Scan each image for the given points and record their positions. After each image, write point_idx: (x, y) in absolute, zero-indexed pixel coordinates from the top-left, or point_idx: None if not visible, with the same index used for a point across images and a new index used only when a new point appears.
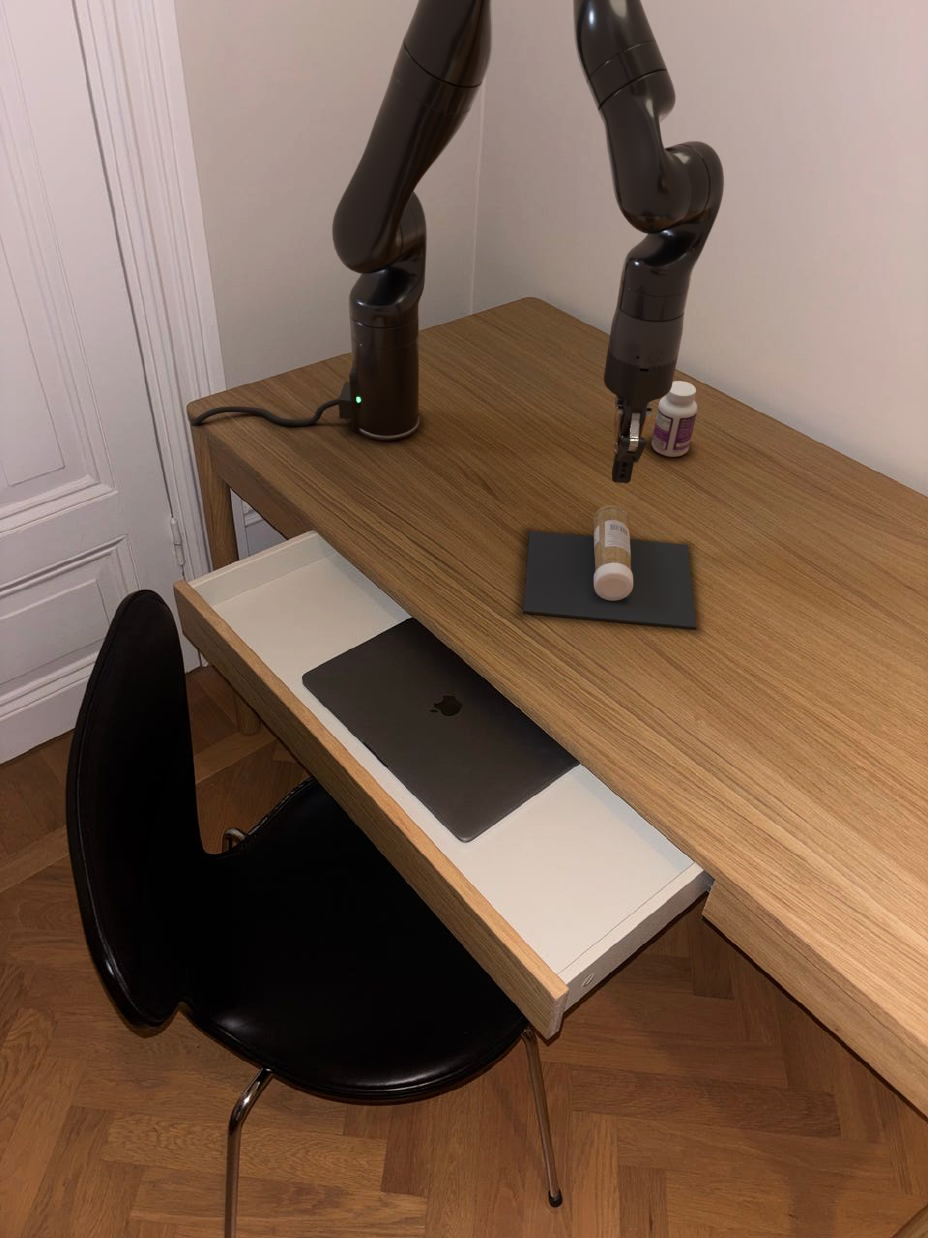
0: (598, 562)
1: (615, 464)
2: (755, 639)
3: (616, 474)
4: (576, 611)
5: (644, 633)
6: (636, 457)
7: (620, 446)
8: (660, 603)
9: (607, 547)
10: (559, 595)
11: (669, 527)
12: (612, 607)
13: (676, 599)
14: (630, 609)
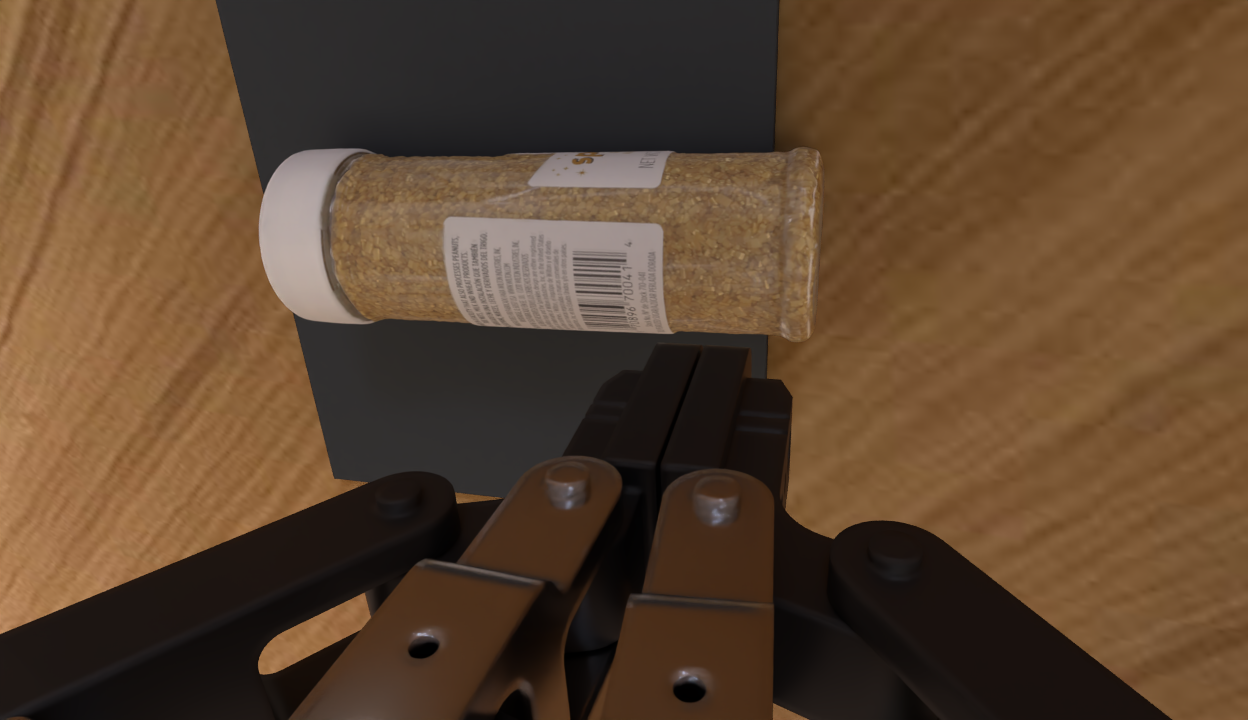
0: (382, 178)
1: (625, 417)
2: (359, 610)
3: (626, 392)
4: (256, 68)
5: (266, 318)
6: (272, 678)
7: (83, 641)
8: (403, 388)
9: (440, 230)
10: None
11: (894, 479)
12: None
13: (439, 441)
14: None
